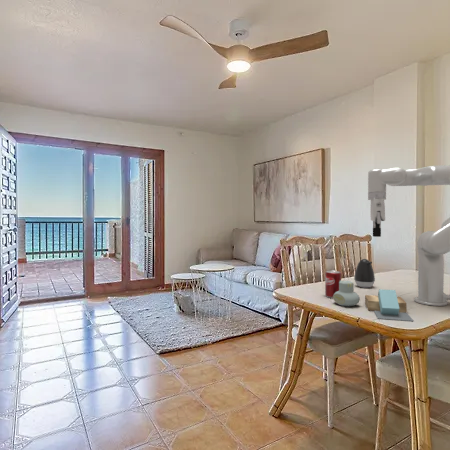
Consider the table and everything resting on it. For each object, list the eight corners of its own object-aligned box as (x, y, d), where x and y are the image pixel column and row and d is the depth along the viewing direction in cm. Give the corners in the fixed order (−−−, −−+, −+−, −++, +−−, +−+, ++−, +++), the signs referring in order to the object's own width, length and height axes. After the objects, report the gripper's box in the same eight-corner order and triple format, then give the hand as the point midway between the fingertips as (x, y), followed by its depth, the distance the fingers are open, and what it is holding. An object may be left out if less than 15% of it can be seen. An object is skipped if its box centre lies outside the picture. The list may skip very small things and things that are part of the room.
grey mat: (406, 313, 129) (406, 312, 129) (413, 321, 119) (413, 320, 119) (373, 311, 132) (373, 310, 132) (377, 318, 122) (377, 318, 122)
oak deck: (400, 306, 139) (400, 296, 139) (406, 313, 129) (406, 303, 129) (365, 304, 143) (365, 294, 143) (368, 310, 133) (368, 300, 133)
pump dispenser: (363, 289, 170) (363, 260, 169) (350, 285, 180) (350, 258, 179) (379, 288, 172) (379, 259, 172) (366, 284, 182) (366, 257, 182)
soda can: (330, 299, 152) (330, 273, 151) (322, 295, 159) (322, 270, 158) (344, 298, 153) (344, 272, 153) (336, 294, 160) (336, 270, 160)
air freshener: (330, 302, 145) (330, 280, 145) (344, 300, 149) (344, 278, 148) (348, 309, 135) (348, 285, 135) (363, 306, 139) (363, 283, 138)
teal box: (394, 296, 132) (395, 290, 130) (398, 315, 126) (399, 308, 123) (377, 295, 134) (378, 289, 132) (381, 314, 127) (382, 307, 125)
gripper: (389, 195, 141) (389, 237, 141) (382, 197, 155) (382, 235, 156) (370, 195, 143) (370, 237, 143) (365, 197, 157) (365, 235, 158)
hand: (376, 236), depth 149 cm, fingers closed
